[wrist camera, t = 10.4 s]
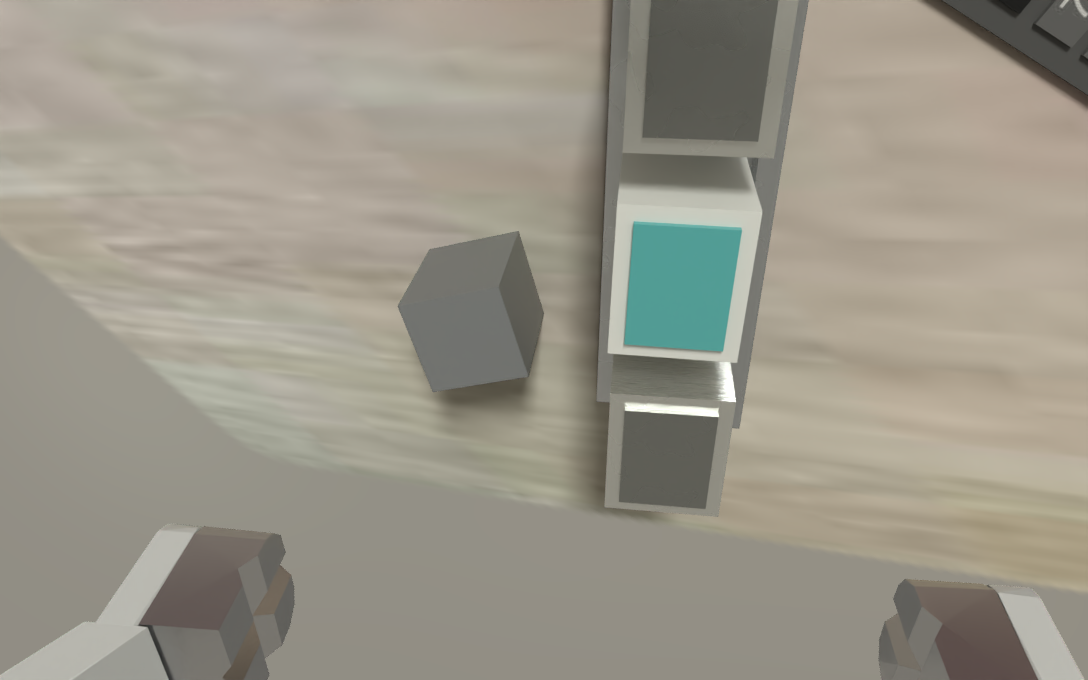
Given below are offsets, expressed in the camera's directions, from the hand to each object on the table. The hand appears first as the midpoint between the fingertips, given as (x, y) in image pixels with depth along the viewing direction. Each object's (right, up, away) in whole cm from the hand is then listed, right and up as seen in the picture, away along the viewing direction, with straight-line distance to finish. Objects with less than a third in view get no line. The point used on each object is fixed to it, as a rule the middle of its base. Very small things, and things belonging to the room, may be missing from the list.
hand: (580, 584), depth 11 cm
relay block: (-3, +6, +24) cm, 25 cm away
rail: (+5, +10, +20) cm, 23 cm away
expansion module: (+4, +9, +19) cm, 21 cm away
